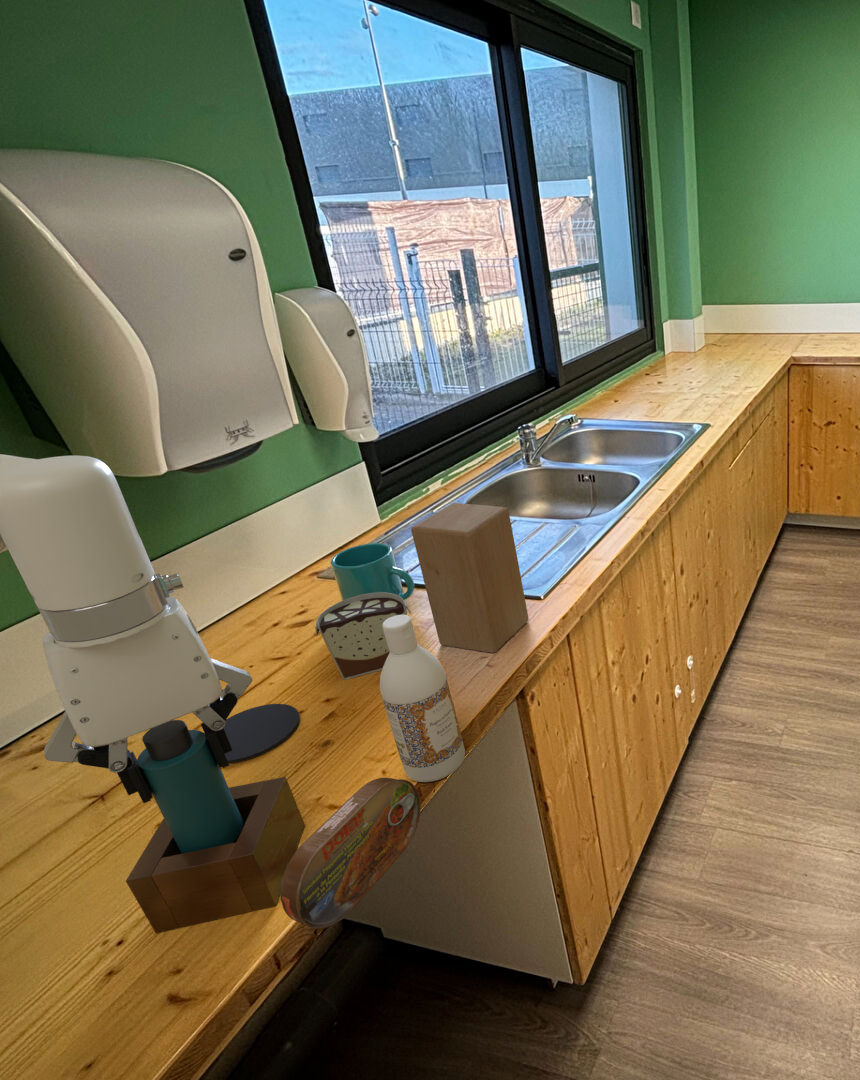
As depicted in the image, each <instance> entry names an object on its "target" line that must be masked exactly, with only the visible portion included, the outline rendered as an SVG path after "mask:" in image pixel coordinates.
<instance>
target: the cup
mask: <svg viewBox="0 0 860 1080" xmlns="http://www.w3.org/2000/svg"><path fill="white" fill-rule="evenodd" d="M395 559H396V558H395V555H394V552H393V548H392V547H391V546H390V545H389V544H386V543H379V542H375V543H364V544H359V545H355V546H352V547H349V548H346V549H344V550H342V551H339V552H338V553H337V554H335V555H334V556H333V557H332V558H331V559H330V567H331V569H332V573H333V576H334V578H335V582H336V585H337V588H338V592H339V596H340V598H341V601H343V600H346V599H348V598H351V597H355V596H358V595H363V594H368V593H379V592H383V593H392V594H396V595H398V596H400V597H401V598H402V599H403V600H404V601H405V602H406V603H407V599H409V598H410V597H411V596H412V595H413V594H414V592H415V581H414V579H413V577H412V576H411V575H410V573H409V572H407V571H406V570H404V569H402V568H399V567H397V562H396V560H395ZM401 579H402V580H403V581H404V582H405V584H406V588H407V589H406V592H404V589H403V588H404V587H403V586H402V582H401ZM405 608H406V607H405ZM406 609H407V608H406Z"/></svg>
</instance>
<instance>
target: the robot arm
mask: <svg viewBox="0 0 860 1080" xmlns="http://www.w3.org/2000/svg"><path fill="white" fill-rule="evenodd" d="M6 551H8V552H9V554H10V556H11V558H12V561H13V563H14V564H15V566H16V568H17V570H18V572H19V574H20V576H21V578H22V580H23V582H24V584H25V586H26V588H27V590H28V593H29V594H30V595H31V598H32V599H33V601H34V603H35V605H36V606H37V610H38V611H39V613H40V616H41V617H42V619H43V621H44V624H45V625H46V627H47V629H48V631H49V632H48V633H46V634H45V635H44V636H43V637H42V647H43V648H42V649H43V652H44V656H45V660H46V664H47V667H48V670H49V673H50V676H51V678H52V681H53V685H54V686H55V689H56V692H57V694H58V696H59V699H60V701H61V704H62V706H63V709H64V712H63V714H62V716H61V718H60V719H59V721H58V723H57V725H56V726H55V728H54V730H53V732H52V734H51V735H50V737H49V739H48V741H47V742H46V743H45V746H44V749H43V754H44V759H45V760H46V761H49V762H58V763H59V762H60V763H70V764H73V763H79V765H83V766H88V767H95V768H101V769H108V770H109V771H110V772H111V773H115V774H117V776H118V778H119V780H120V782H121V784H122V786H123V788H124V789H125V791H126V793H127V795H128V796H131V795H134V794H136V793H137V794H138V795H139V797H140V799H141V802H142V804H146V803H148V802H150V801H152V799H154V797H153V795H152V793H151V791H150V789H149V787H148V785H147V783H146V781H145V779H144V777H143V775H142V773H141V771H140V769H139V767H138V764H137V759H138V758H137V757H136V755H135V753H134V751H130V750H129V749H128V739H129V738H131V737H133V736H136V735H138V734H141V733H144V732H147V731H149V730H150V729H151V728H154V727H157V726H159V725H162V724H164V723H167V722H169V721H172V720H178V719H179V718H182V717H184V716H187V715H189V714H191V713H192V714H193V715H194V716H196V718H197V719H199V720H200V721H201V723H200V726H201V729H202V732H203V733H205V735H206V737H207V739H208V742H209V744H210V746H211V749H212V751H213V753H214V756H215V758H216V760H217V763H218V765H219V767H220V769H221V768H222V769H224V768H227V767H229V766H230V764H228V761H227V759H226V757H225V753H228V752H230V751H232V748H231V745H230V743H229V740H228V738H227V736H226V733H225V731H224V727H225V725H226V722H225V721H226V719H228V718H229V717H230V714H231V713H232V712H233V710H234V709H235V707H236V706H237V704H238V699H239V698H240V697H242V696H243V694H244V693H245V692H246V691H247V689H248V688H249V686H250V685H251V684H252V682H253V677H252V676H251V674H250V673H249V671H248V670H245V669H242V668H240V667H237V666H235V665H231V664H228V663H226V662H223V661H220V660H217V659H215V658H213V657H210V655H209V652H208V650H207V648H206V646H205V644H204V642H203V640H202V637H201V635H200V634H199V632H198V630H197V628H196V626H195V624H194V623H193V621H192V619H191V618H190V616H189V614H188V613H187V611H186V610H185V608H184V607H183V606H182V604H181V603H180V601H179V600H178V599H177V598H176V597H174V596H170V594H172V593H174V592H175V591H177V590H180V589H183V588H184V585H183V582H182V580H181V577H180V575H179V573H174V574H171V575H170V574H169V575H168V574H165V575H161V573H160V572H158V573H156V572H155V570H154V567H153V565H152V563H151V560H150V558H149V555H148V553H147V550H146V548H145V545H144V543H143V541H142V538H141V536H140V534H139V531H138V529H137V527H136V523H135V522H134V519H133V517H132V515H131V512H130V509H129V507H128V505H127V503H126V500H125V498H124V495H123V493H122V489H121V487H120V486H119V483H118V481H117V479H116V477H115V475H114V473H113V471H112V470H111V468H110V467H109V466H108V465H107V464H106V463H105V462H104V461H102V460H101V459H99V458H97V457H92V456H88V455H60V456H51V457H43V458H38V459H37V458H32V457H31V458H30V457H24V456H23V457H22V456H17V455H10V454H1V453H0V554H1V553H4V552H6ZM221 682H225V683H227V684H226V685H225V687H224V689H222V684H221ZM76 736H77V737H78V739H79V740H80V741H81V743H79V742H75V741H74V739H75V738H76Z"/></svg>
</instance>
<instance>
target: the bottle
mask: <svg viewBox="0 0 860 1080" xmlns="http://www.w3.org/2000/svg"><path fill="white" fill-rule="evenodd" d="M141 741H142V743H143V745H144V747H145V748H144V749H143V750H142V751H141V752H140V753H139V754H138V757H137V758H136V759H137V764H138V767H139V769H140V771H141V773H142V775H143V777H144V779H145V781H146V783H147V785H148V787H149V789H150V791H151V793H152V796H153V799H154V802H155V804H156V806H157V807H158V809H159V811H160V813H161V815H162V817H163V819H165V821H166V823H167V825H168V827H169V829H170V831H171V833H172V835H173V837H174V839H175V841H176V843H177V845H178V847H179V849H180V851H181V853H182V854H183V853H188V852H193V851H197V850H202V849H207V848H212V847H217V846H221V845H226V844H231V843H232V842H234V841H235V840H236V839H237V838H238V836H239V835H240V833H241V831H242V829H243V826H244V822H243V820H242V817H241V815H240V813H239V810H238V808H237V806H236V803H235V801H234V799H233V797H232V794H231V792H230V790H229V788H230V787H229V785H228V782H227V781H226V778H225V776H224V774H223V771H222V769H221V768H220V767H219V765H218V763H217V760H216V758H215V756H214V753H213V751H212V749H211V746H210V744H209V742H208V739H207V737H206V735H205V733H204V731H203V730H202V731H201V730H198V729H189V727H188V726H187V723H186V722H185V721H184V720H181V719H174V720H172V721H169V722H167V723H164V724H162V725H159V726H157V727H154V728H151V729H149V730H146V731H145V733H144V734H143V736H142V739H141Z"/></svg>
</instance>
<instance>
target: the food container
mask: <svg viewBox="0 0 860 1080" xmlns="http://www.w3.org/2000/svg"><path fill="white" fill-rule="evenodd" d="M405 607H406V608H405ZM407 612H408V613H409V614H410V615H411V614H412V611H411V609H410V607H409V606H408V604H407V601H406V602H405V601H404V600H403V599H402V598H401V597H400V596H398V595H396V594H392V593H383V592H379V593H368V594H363V595H358V596H355V597H351V598H348V599H346V600H343V601H342V600H341V601H338V602H336V603H334V604H332V605H331V606H328V607H327V608H326V609H325V610H324V611H322V612H321V613H320V614H319V615H318V617H317V619H316V621H315V627H314V628H315V629H314V630H315V636H316V637H318V635H319V633H320V635H321V637H322V639H323V641H324V644H325V645H326V647H327V650H328V651H329V654H330V656H331V658H332V660H333V662H334V664H335V666H336V668H337V671H338V672H339V675H340V676H341V679H342V680H343V681H347V680H351V679H354V678H358V677H361V676H365V675H369V674H373V673H376V672H380V671H382V669H383V666H384V664H385V662H386V659H387V657H388V655H389V653H390V651H389V648H388V645H387V641H386V638H385V634H384V631H383V627H382V624H383V622H384V621H385V620H386V619H388V618H390V617H393V616H396V615H407Z"/></svg>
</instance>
